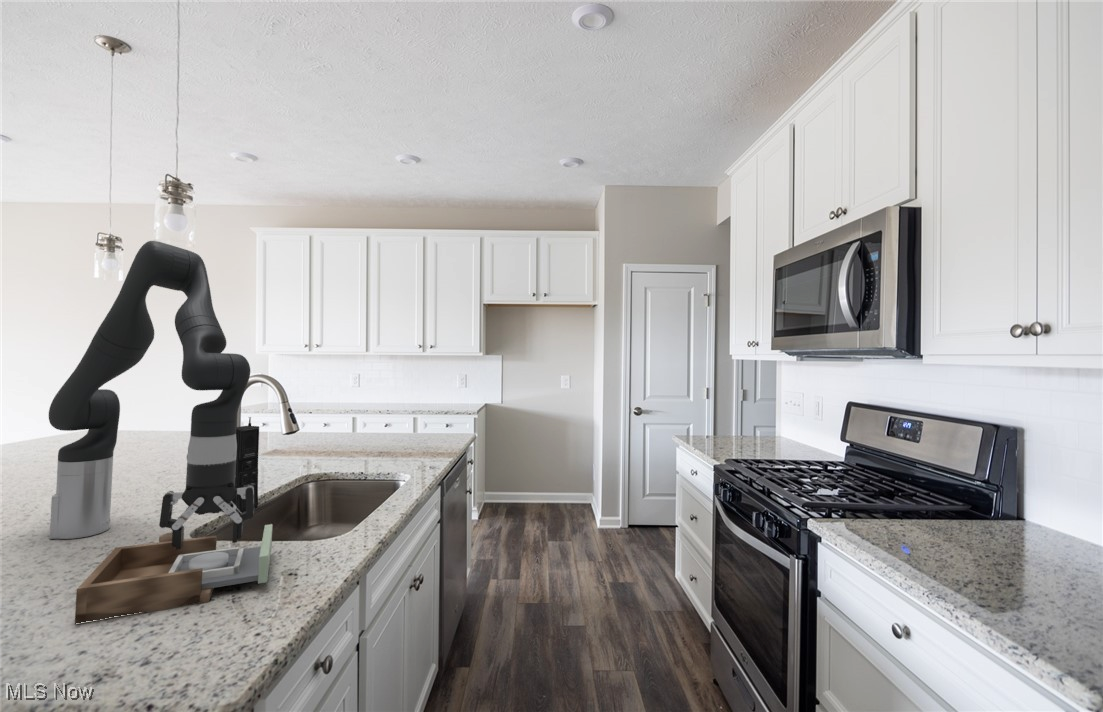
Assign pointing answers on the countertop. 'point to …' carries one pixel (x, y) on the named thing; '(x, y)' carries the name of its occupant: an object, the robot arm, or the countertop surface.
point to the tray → (234, 564)
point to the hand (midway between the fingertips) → (207, 544)
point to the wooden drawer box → (142, 581)
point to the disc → (209, 561)
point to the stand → (166, 537)
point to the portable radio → (246, 462)
